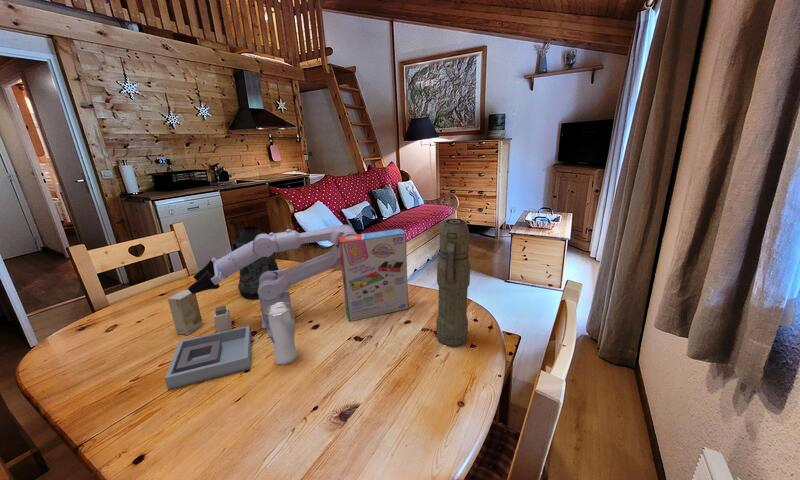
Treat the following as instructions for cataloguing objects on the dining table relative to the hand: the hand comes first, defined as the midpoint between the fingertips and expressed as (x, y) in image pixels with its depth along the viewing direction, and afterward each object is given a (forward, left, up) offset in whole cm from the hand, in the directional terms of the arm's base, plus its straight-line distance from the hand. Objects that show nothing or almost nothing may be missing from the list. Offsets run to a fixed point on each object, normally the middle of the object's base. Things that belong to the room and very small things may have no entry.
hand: (193, 285), depth 94 cm
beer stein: (-15, -25, -17) cm, 34 cm away
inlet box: (-4, +15, -17) cm, 23 cm away
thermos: (-67, +33, -17) cm, 77 cm away
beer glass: (-22, +22, -17) cm, 35 cm away
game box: (-52, +10, -17) cm, 56 cm away
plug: (-5, -1, -17) cm, 17 cm away
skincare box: (+5, -5, -17) cm, 18 cm away
